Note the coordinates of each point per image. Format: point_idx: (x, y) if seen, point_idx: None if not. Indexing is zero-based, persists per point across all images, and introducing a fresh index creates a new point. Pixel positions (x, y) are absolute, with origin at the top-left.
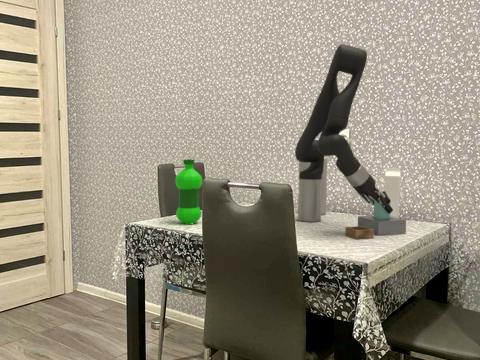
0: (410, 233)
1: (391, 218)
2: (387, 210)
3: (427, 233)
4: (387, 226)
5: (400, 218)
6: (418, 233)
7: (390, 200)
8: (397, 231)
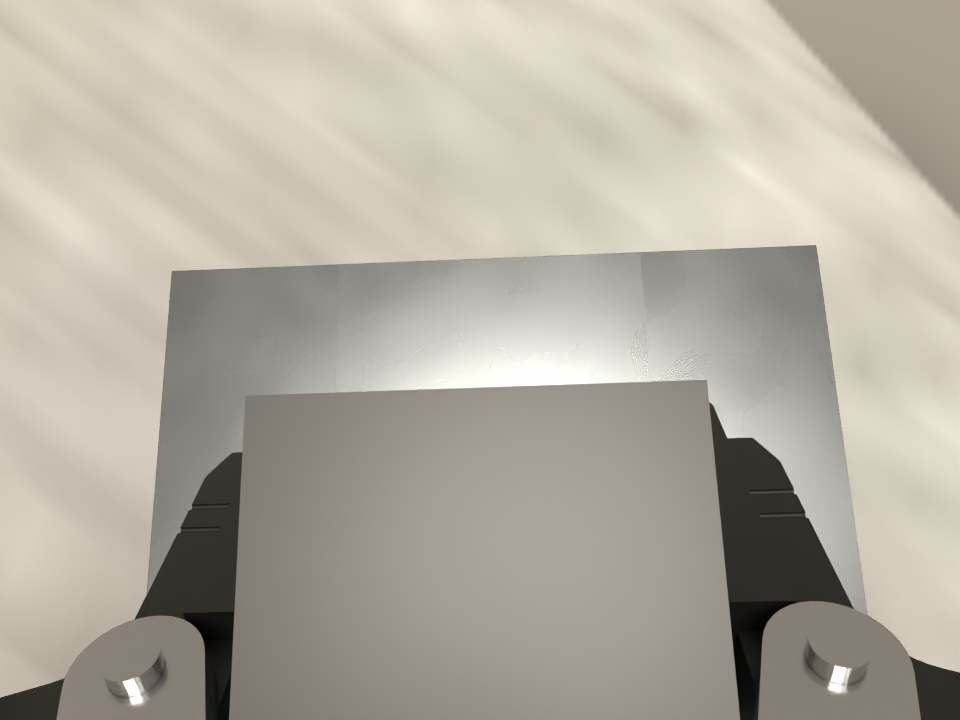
0: None
1: None
2: None
3: (789, 39)
4: None
5: (652, 254)
6: (764, 147)
7: (700, 393)
8: None
